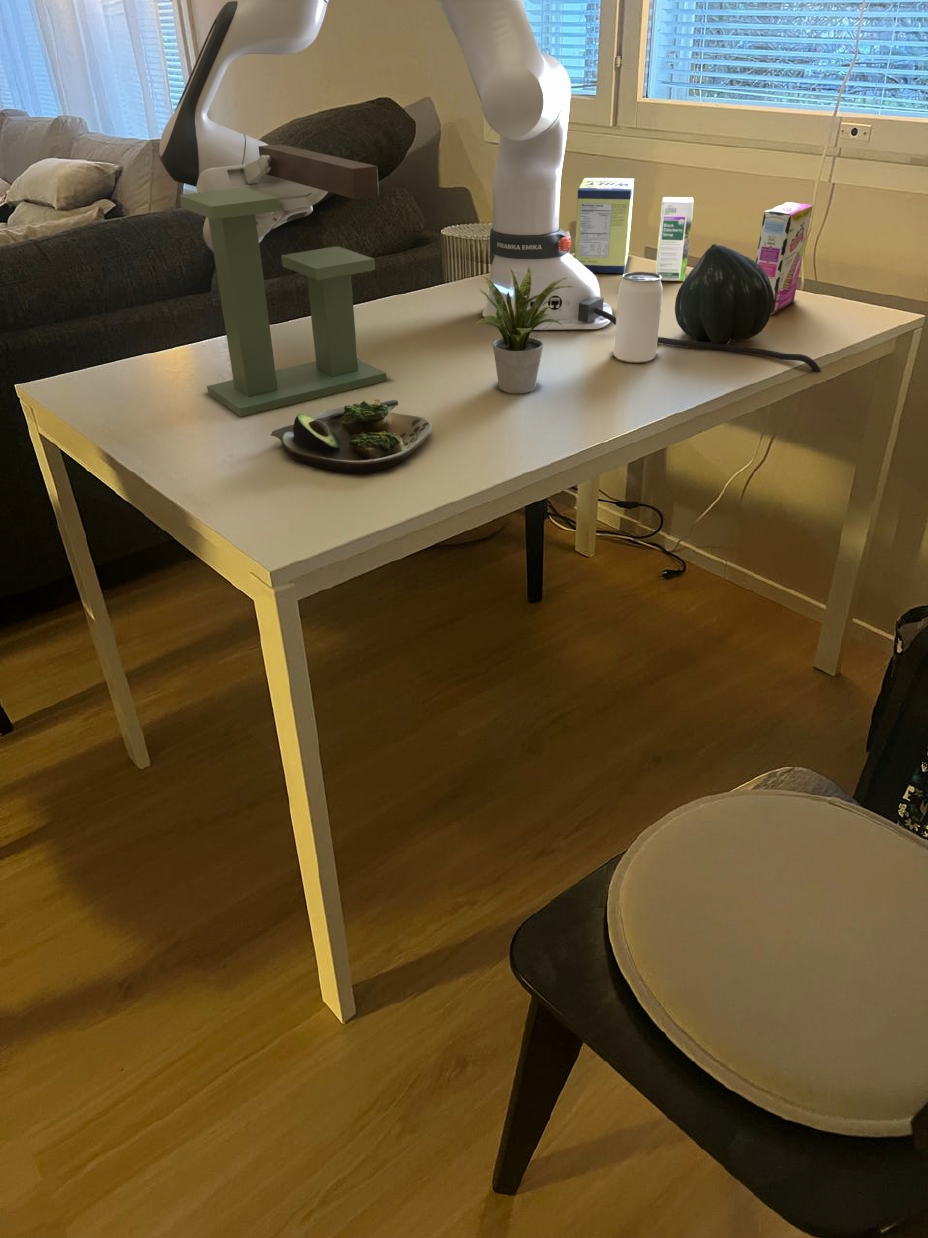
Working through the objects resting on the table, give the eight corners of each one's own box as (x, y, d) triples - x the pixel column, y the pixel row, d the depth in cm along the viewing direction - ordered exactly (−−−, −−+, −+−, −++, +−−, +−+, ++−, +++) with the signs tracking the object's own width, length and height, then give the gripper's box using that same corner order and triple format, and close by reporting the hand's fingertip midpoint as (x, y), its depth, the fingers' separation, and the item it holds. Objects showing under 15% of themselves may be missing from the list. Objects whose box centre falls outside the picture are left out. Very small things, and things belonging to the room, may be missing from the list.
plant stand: (208, 393, 131) (173, 194, 116) (348, 361, 142) (333, 176, 127) (241, 416, 123) (208, 207, 109) (386, 380, 134) (375, 186, 120)
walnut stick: (261, 172, 130) (258, 145, 128) (283, 170, 131) (280, 143, 129) (355, 199, 112) (353, 168, 110) (378, 196, 114) (377, 165, 112)
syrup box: (654, 281, 180) (663, 200, 172) (654, 273, 185) (662, 195, 177) (684, 281, 179) (694, 201, 171) (683, 274, 184) (693, 195, 176)
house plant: (583, 404, 126) (591, 280, 117) (484, 411, 124) (484, 286, 115) (557, 370, 137) (563, 255, 128) (466, 376, 136) (465, 260, 126)
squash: (802, 315, 140) (772, 225, 142) (716, 330, 136) (687, 237, 138) (753, 356, 154) (726, 273, 155) (674, 370, 150) (648, 285, 151)
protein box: (628, 256, 197) (635, 176, 188) (625, 274, 185) (632, 189, 176) (579, 255, 199) (583, 175, 190) (572, 272, 186) (577, 188, 178)
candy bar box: (773, 315, 159) (791, 214, 150) (746, 311, 162) (762, 210, 153) (796, 301, 167) (814, 203, 158) (769, 297, 169) (785, 200, 160)
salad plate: (346, 403, 127) (343, 370, 124) (460, 425, 120) (459, 391, 117) (256, 454, 113) (251, 419, 110) (379, 483, 106) (376, 445, 103)
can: (655, 364, 139) (663, 282, 132) (611, 362, 140) (618, 280, 133) (656, 351, 144) (664, 271, 137) (614, 349, 145) (620, 269, 138)
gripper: (180, 186, 133) (205, 141, 121) (306, 172, 143) (341, 129, 131) (195, 230, 134) (221, 189, 122) (319, 213, 144) (355, 174, 132)
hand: (284, 158), depth 127 cm, fingers closed on walnut stick, 3 cm apart
